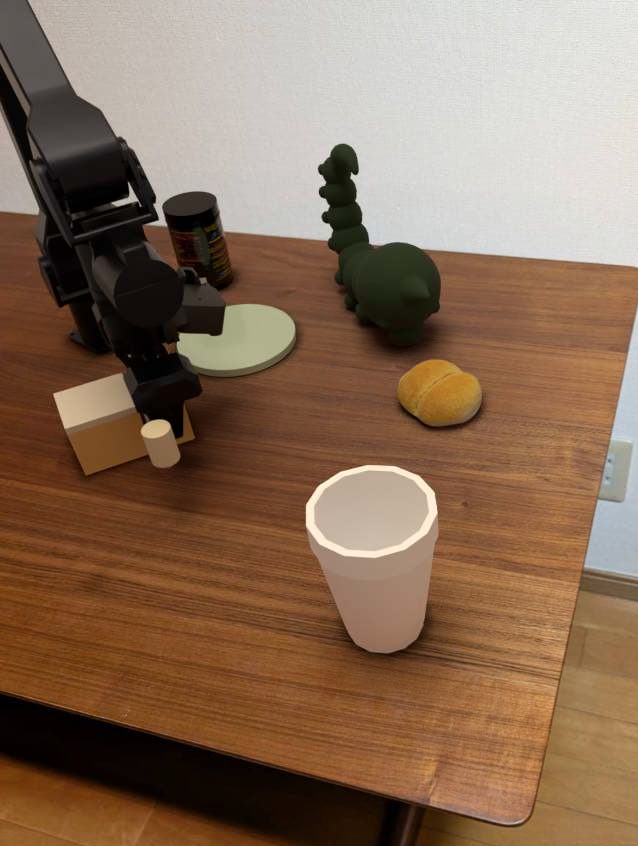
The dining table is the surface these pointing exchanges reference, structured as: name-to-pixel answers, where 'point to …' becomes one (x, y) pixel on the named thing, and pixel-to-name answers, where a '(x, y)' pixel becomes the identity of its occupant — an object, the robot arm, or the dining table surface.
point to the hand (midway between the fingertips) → (167, 415)
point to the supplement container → (199, 236)
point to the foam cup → (376, 551)
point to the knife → (160, 442)
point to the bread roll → (439, 393)
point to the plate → (241, 342)
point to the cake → (101, 423)
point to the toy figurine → (376, 260)
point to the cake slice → (185, 429)
